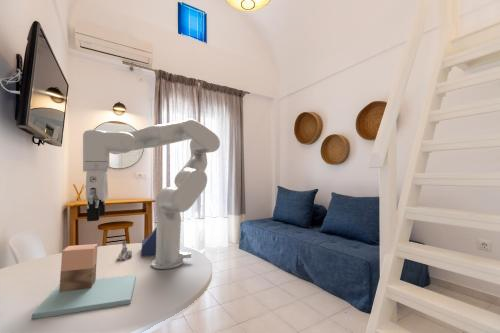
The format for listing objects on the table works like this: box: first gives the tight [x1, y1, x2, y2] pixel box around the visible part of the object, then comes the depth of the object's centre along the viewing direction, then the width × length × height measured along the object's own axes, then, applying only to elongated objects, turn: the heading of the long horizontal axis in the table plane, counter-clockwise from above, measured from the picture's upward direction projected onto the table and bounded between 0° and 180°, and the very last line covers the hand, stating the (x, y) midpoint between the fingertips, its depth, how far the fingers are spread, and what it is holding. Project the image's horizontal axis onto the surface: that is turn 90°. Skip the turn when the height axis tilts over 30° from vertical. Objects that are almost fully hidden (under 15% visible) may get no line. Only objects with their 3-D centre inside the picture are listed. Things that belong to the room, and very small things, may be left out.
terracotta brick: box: [60, 243, 99, 272], centre depth 74 cm, size 8×6×6 cm
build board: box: [31, 274, 137, 320], centre depth 71 cm, size 22×18×1 cm
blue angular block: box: [140, 226, 157, 257], centre depth 114 cm, size 12×12×12 cm
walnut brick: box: [59, 262, 98, 292], centre depth 74 cm, size 8×6×6 cm
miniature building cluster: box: [115, 240, 133, 262], centre depth 103 cm, size 9×9×8 cm
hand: (96, 218), depth 79 cm, fingers open, 9 cm apart
